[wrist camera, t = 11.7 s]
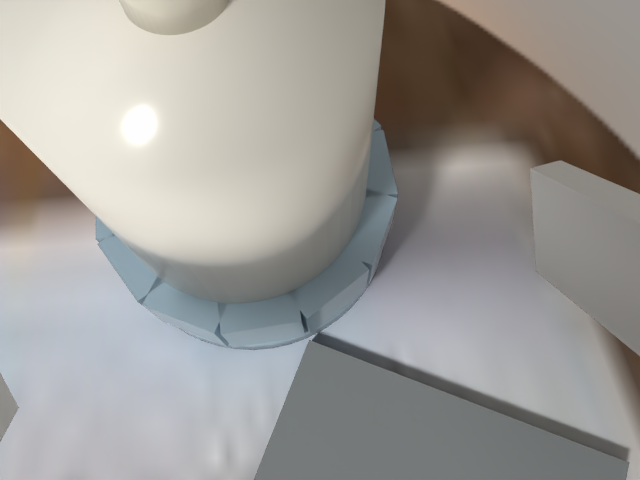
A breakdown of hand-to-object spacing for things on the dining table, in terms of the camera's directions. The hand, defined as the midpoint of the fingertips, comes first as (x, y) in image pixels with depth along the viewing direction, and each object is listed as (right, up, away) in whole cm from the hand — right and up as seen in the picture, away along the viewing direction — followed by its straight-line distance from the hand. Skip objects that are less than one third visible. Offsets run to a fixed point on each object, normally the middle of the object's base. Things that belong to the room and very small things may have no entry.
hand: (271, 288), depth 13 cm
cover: (-2, +3, +7) cm, 8 cm away
